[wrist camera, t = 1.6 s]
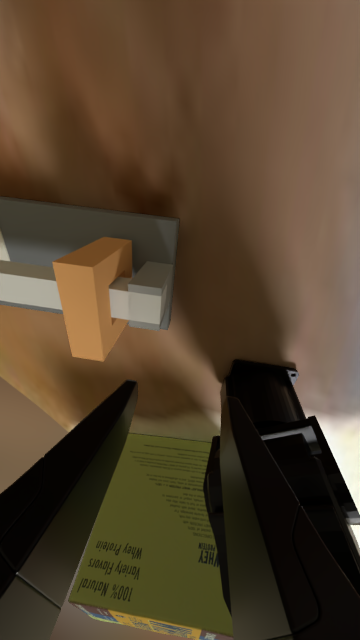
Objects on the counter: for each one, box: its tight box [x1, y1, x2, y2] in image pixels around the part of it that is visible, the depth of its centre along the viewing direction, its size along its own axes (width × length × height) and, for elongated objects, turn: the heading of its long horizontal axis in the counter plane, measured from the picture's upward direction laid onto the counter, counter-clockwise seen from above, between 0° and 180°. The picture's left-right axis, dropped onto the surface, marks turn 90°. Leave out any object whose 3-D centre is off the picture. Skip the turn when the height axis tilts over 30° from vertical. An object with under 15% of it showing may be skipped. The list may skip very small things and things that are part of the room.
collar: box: [52, 237, 132, 362], centre depth 15 cm, size 2×6×6 cm, turn 175°
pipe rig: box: [0, 196, 179, 331], centre depth 17 cm, size 20×9×6 cm, turn 85°
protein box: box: [68, 433, 234, 640], centre depth 27 cm, size 10×15×16 cm
